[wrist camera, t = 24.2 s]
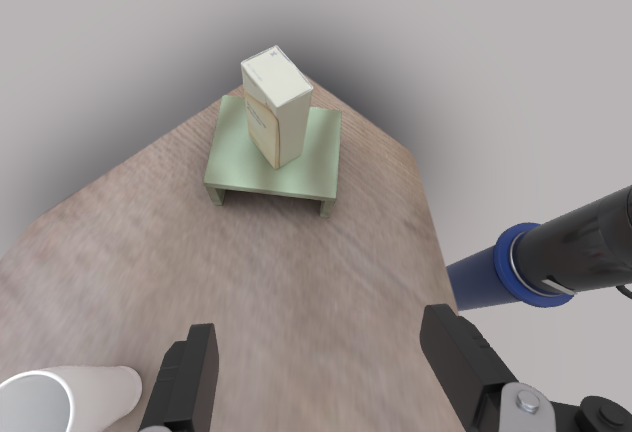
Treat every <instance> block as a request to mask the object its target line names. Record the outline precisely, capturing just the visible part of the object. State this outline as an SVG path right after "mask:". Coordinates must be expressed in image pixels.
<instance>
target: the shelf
mask: <svg viewBox="0 0 632 432" xmlns="http://www.w3.org/2000/svg"><path fill="white" fill-rule="evenodd" d="M341 119H342V111H338V110H331V109H323V108H316V107H310V109H309V115H308V121H307V127H306V133H305V139H304V145H303V151H302V154H301V155H300V156H299V157H297V158H295V159H294V160H292V161H290V162H288V163H287V164H285V165H283V166H282V167H280V168H278V169H276V170H275V169H274V168H273V166H272V165H271V164H270V163H269V161H268V160H267V159H266V158H265V156H264V155H263V154H262V152H261V151H260V150H259V148H258V147H257V146H256V144H255V143H254V142H253V140H252V139H251V138H250V136H249V133H248V123H247V114H246V104H245V98H243V97H235V96H228V95H223V97H222V102H221V106H220V110H219V115H218V119H217V124H216V128H215V132H214V137H213V141H212V145H211V150H210V154H209V159H208V163H207V167H206V172H205V176H204V181H203V183H204V185H205V187H206V189H207V191H208V193H209V195H210V197H211V200H212V202H213V204H214V205H223V200H224V195H225V190H226V189H230V190H238V191H247V192H255V193H264V194H272V195H280V196H289V197H297V198H306V199H314V200H321V210H320V217H326V218H328V217H329V215H330V212H331V210H332V207H333V204H334V202H335V199H336V191H337V177H338V162H339V148H340V133H341Z"/></svg>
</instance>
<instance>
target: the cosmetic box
mask: <svg viewBox="0 0 632 432" xmlns="http://www.w3.org/2000/svg"><path fill="white" fill-rule="evenodd" d="M241 69H242V77H243V86H244V95H245V104H246V114H247V123H248V133H249V136H250V138H251V139H252V140H253V142H254V143H255V144H256V146H257V147H258V148H259V150H260V151H261V152H262V154H263V155H264V156H265V158H266V159H267V160H268V161H269V163H270V164H271V165H272V166H273V168H274V169H275V170H276V169H278V168H280V167H282V166H283V165H285V164H287V163H288V162H290V161H292V160H294V159H295V158H297V157H299V156H300V155H301V154H302V151H303V145H304V139H305V133H306V127H307V121H308V115H309V109H310V103H311V97H312V92H313V86H312V85H311V84H310V83H309V82H308V80H307V79H306V78H305V77H304V76H303V75H302V73H301V72H300V71H299V70H298V69H297V67H296V66H295V65H294V64H293V63H292V62H291V61H290V60H289V59H288V58H287V56H286V55H285V54H284V53H283V52H282V51H281V50H280V49H279V47H278V46H274V47H272V48H270V49H267V50H265V51H263V52H261V53H259V54H257V55H254V56H252V57H250V58H249V59H246V60H244V61H242V62H241Z"/></svg>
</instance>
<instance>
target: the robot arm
mask: <svg viewBox="0 0 632 432" xmlns="http://www.w3.org/2000/svg"><path fill="white" fill-rule="evenodd" d="M508 263H509V266H510V269H511V271H512V273H513V275H514V277H515V278H516V279H517V281H518V282H519V283H520V284H521V285H522V286H523V287H524V288H525V289H527V290H528V291H530V292H532V293H534V294H536V295H539V296H543V297H554V296H560V295H563V294H569V295H575V294H577V293H575V292H581V291H587V290H593V289H600V288H606V287H612V286H616V288H617V289H618V290H619V291H620V292H621V293H622V294H624V295H625V296H627V297H629V298H630V299H632V292H630V291H629V290H628V289H627V288H625V286H624V285H625V284H631V283H632V185H630V186H628V187H626V188H623V189H621V190H619V191H617V192H614V193H612V194H610V195H608V196H605V197H603V198H601V199H599V200H596V201H594V202H592V203H590V204H588V205H585V206H583V207H581V208H578V209H576V210H574V211H571V212H569V213H567V214H565V215H562V216H560V217H558V218H555V219H553V220H551V221H549V222H546V223H544V224H542V225H539V226H537V227H535V228H533V229H530V230H526V231H524V232H522V233H520V234H518V235H517V236H515V237H514V238H513V240H512V241H511V243H510V245H509V248H508ZM420 344H421V348H422V351H423V353H424V355H425V356H426V358H427V360H428V362H429V364H430V366H431V368H432V369H433V371H434V373H435V375H436V377H437V379H438V381H439V382H440V384H441V386H442V388H443V390H444V392H445V394H446V395H447V397H448V399H449V401H450V403H451V405H452V407H453V408H454V410H455V412H456V414H457V416H458V418H459V420H460V421H461V423H462V425H463V427H464V429H465V431H466V432H632V415H631V414H630V413H629V412H628V411H627V410H626V409H624V408H623V407H622V406H620V405H618V404H617V403H615V402H613V401H611V400H609V399H606V398H603V397H599V396H587V397H585V398H584V399H583V400H582V402H581V404H580V406H574V405H568V404H562V403H557V402H552V401H549V400H548V399H547V398H546V397H545V396H544V395H543V394H542V393H541V392H539V391H538V390H537V389H535V388H533V387H531V386H529V385H527V384H524V383H520V382H519V381H518V380H517V379H516V378H515V376H514V375H513V374H512V372H511V371H510V370H509V369H508V368H507V366H506V365H505V364H504V362H503V361H502V360H501V358H500V357H499V356H498V355H497V353H496V352H495V351H494V350H493V348H491V347H490V345H489V343H488V342H487V341H486V339H484V338H483V336H482V334H481V333H480V332H479V331H478V329H477V328H476V327H475V325H473V324H472V323H470V322H469V321H468V320H466V319H465V318H464V317H462V316H456V315H455V313H454V312H453V311H452V309H451V308H450V307H449V306H448V305H447V304H435V305H427V306H426V307H425V309H424V314H423V320H422V325H421V331H420ZM218 372H219V353H218V347H217V340H216V334H215V327H214V324H213V323H208V324H197V325H191V327H190V330H189V333H188V337H187V341H177V342H175V343H174V344H173V345H172V346H171V348H170V349H169V350H168V351H167V352H166V354H165V356H164V359H163V362H162V365H161V367H160V371H159V373H158V376H157V381H156V382H155V385H154V388H153V391H152V394H151V396H150V399H149V402H148V405H147V408H146V411H145V414H144V417H143V420H142V423H141V425H140V428H139V430H138V432H209V431H210V424H211V418H212V411H213V405H214V398H215V391H216V385H217V378H218Z"/></svg>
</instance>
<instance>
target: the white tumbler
mask: <svg viewBox="0 0 632 432" xmlns="http://www.w3.org/2000/svg"><path fill="white" fill-rule="evenodd" d="M141 393H142V381H141V378H140V376H139V374H138V373H137V372H136V371H135V370H134V369H132V368H130V367H127V366H114V367H103V366H74V365H73V366H56V367H49V368H43V369H38V370H33V371H27V372H23V373H20V374H18V375H15V376H13V377H11V378H9V379H8V380H6V381H4V382H3V383H2V384H0V432H101V431H102V430H104V429H105V428H107V427H108V426H109V425H111V424H112V423H114V422H115V421H117V420H118V419H120V418H122V417H124V416H126V415H127V414H128V413H130V412H131V411H132V410H133V409H134V408H135V406H136V405H137V403H138V401H139V399H140V397H141Z"/></svg>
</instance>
